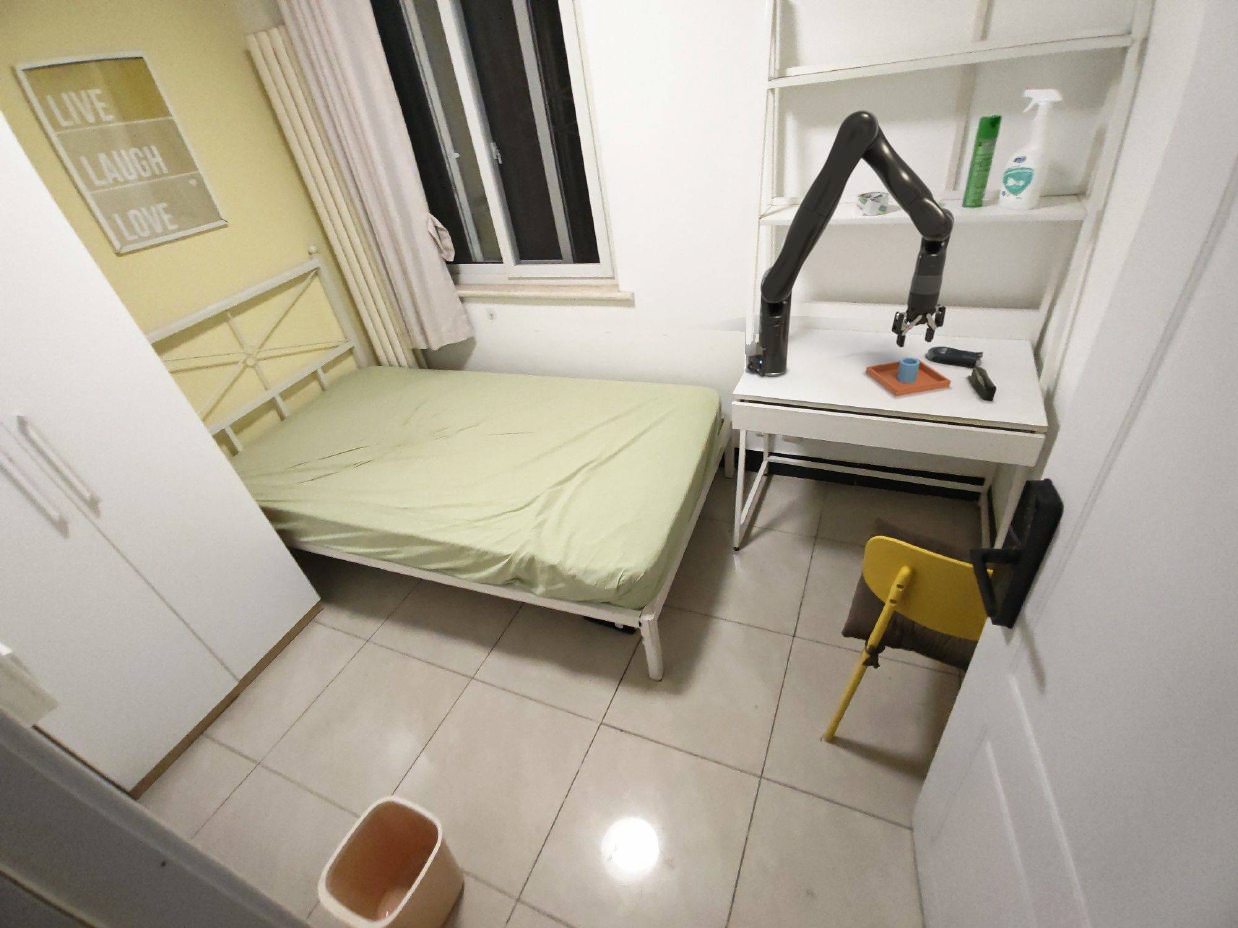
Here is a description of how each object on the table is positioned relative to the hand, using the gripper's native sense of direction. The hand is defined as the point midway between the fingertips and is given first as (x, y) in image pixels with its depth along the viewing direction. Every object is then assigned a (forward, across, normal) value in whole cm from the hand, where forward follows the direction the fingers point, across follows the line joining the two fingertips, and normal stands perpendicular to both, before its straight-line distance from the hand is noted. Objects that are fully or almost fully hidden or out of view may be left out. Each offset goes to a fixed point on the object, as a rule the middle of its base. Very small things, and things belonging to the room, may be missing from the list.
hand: (913, 344), depth 163 cm
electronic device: (+12, -20, -7) cm, 24 cm away
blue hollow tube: (+12, 0, 0) cm, 12 cm away
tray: (+12, 0, 0) cm, 12 cm away
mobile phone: (+12, -15, +12) cm, 23 cm away
